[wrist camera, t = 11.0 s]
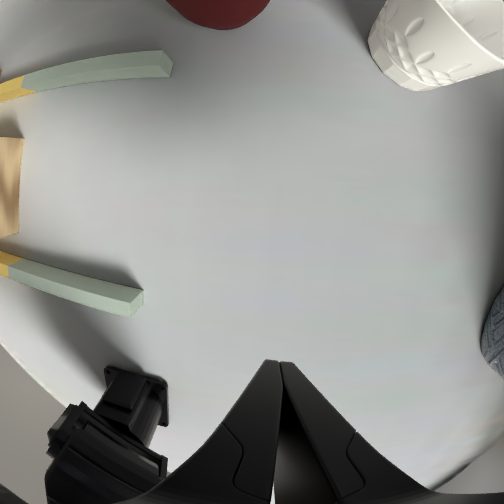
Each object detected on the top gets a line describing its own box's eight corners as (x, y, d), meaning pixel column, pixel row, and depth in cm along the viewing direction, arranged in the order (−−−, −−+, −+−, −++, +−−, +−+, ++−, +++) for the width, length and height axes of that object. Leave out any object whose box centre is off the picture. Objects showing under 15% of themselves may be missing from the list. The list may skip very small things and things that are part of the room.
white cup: (452, 105, 16) (538, 82, 6) (371, 94, 16) (448, 40, 7) (430, 26, 14) (492, -21, 4) (350, 10, 14) (392, -66, 5)
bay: (143, 303, 21) (130, 318, 18) (-33, 248, 21) (-46, 252, 18) (173, 63, 16) (162, 50, 14) (-24, 102, 16) (-37, 100, 14)
